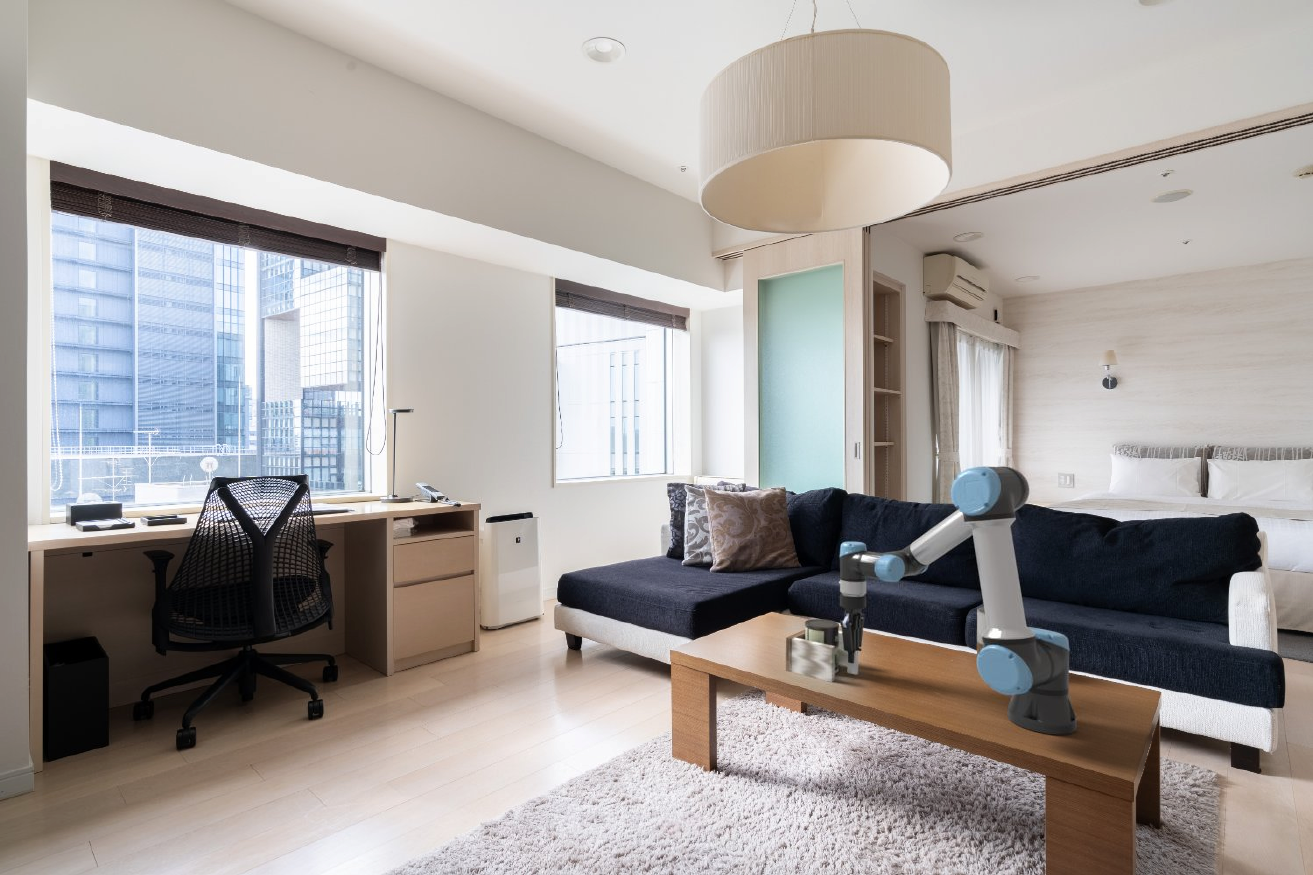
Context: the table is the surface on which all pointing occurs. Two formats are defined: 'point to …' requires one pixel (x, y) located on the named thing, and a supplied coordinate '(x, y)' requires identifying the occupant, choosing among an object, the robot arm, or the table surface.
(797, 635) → the holder
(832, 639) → the coffee can
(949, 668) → the table surface
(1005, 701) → the table surface
